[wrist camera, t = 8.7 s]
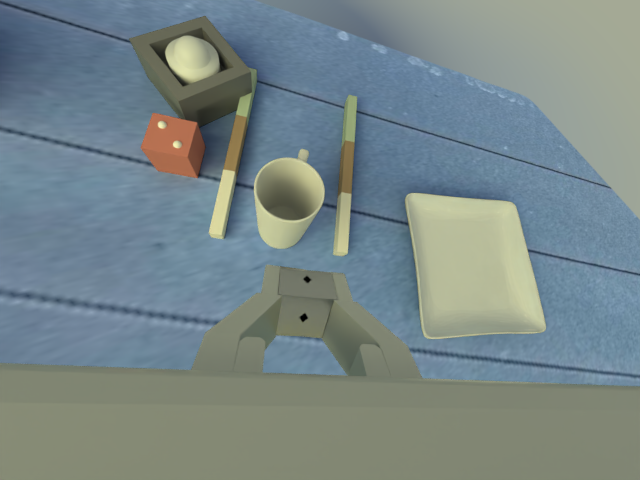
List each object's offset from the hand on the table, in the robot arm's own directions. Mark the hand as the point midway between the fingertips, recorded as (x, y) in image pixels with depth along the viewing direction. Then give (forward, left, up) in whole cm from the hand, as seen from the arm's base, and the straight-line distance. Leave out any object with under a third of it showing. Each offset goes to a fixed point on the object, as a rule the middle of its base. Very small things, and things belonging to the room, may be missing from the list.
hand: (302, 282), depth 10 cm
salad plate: (+14, +27, -25) cm, 39 cm away
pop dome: (-32, +10, -21) cm, 39 cm away
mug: (-8, +8, -24) cm, 27 cm away
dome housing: (-32, +10, -24) cm, 41 cm away
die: (-23, +2, -24) cm, 33 cm away
